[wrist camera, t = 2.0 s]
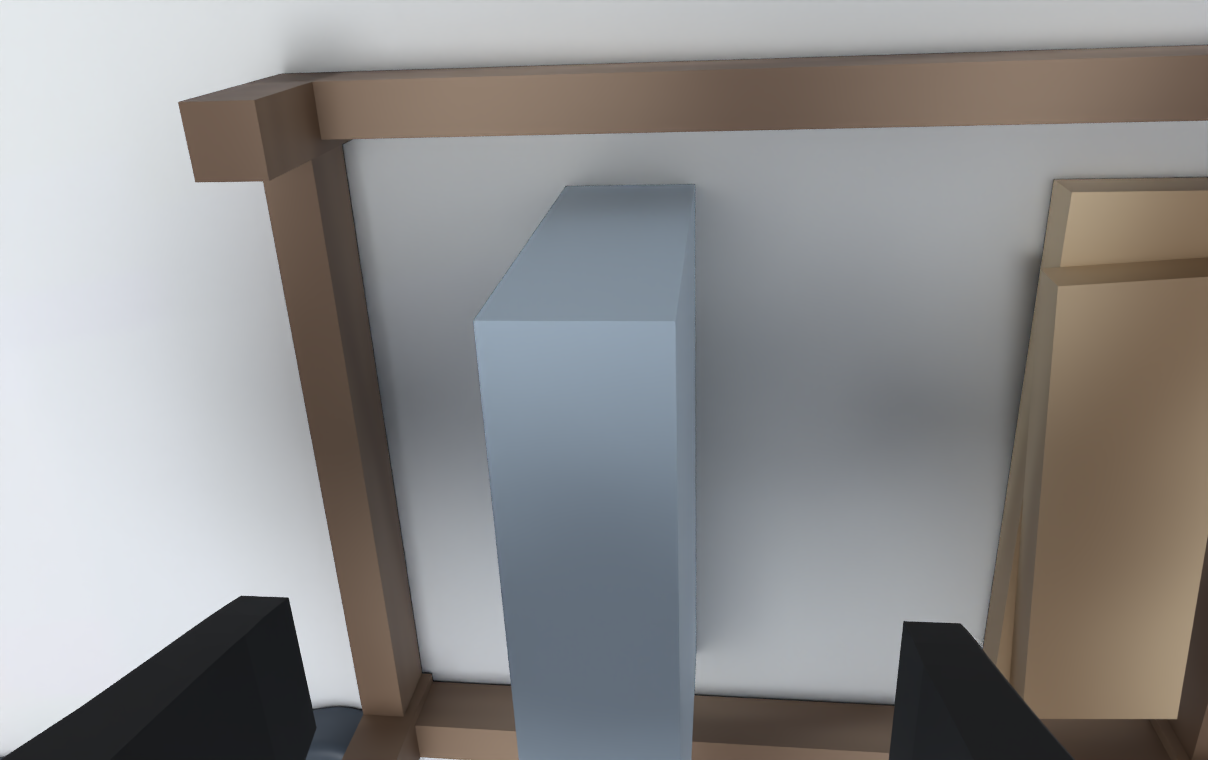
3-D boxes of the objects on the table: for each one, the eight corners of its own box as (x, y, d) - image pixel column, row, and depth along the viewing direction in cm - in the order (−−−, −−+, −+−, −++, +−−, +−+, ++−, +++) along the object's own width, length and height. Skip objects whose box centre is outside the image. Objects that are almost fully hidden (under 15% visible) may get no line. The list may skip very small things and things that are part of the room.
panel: (695, 182, 15) (675, 321, 9) (696, 650, 18) (682, 946, 13) (566, 185, 15) (473, 320, 9) (593, 645, 19) (537, 934, 13)
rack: (1400, 39, 13) (1584, 64, 10) (1197, 755, 18) (1282, 900, 15) (280, 73, 15) (178, 102, 12) (390, 709, 20) (336, 831, 17)
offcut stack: (1251, 176, 13) (1313, 203, 12) (1133, 675, 17) (1171, 741, 16) (1035, 179, 14) (1070, 206, 12) (965, 667, 18) (986, 732, 16)
